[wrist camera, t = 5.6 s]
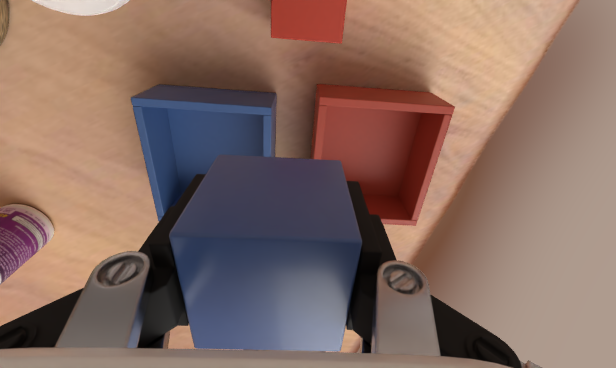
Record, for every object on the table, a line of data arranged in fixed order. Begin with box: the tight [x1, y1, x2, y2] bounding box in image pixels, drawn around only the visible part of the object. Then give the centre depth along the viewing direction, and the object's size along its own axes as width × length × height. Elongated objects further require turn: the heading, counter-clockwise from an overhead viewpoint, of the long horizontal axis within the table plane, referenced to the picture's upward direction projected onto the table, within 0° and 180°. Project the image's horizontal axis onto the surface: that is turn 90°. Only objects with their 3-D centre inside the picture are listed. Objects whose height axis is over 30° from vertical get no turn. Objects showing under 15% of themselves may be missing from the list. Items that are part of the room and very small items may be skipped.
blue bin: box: [131, 84, 277, 221], centre depth 25 cm, size 11×10×4 cm
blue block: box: [169, 155, 362, 352], centre depth 10 cm, size 4×4×4 cm
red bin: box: [310, 84, 455, 226], centre depth 25 cm, size 11×10×4 cm
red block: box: [271, 0, 347, 43], centre depth 19 cm, size 4×4×4 cm
